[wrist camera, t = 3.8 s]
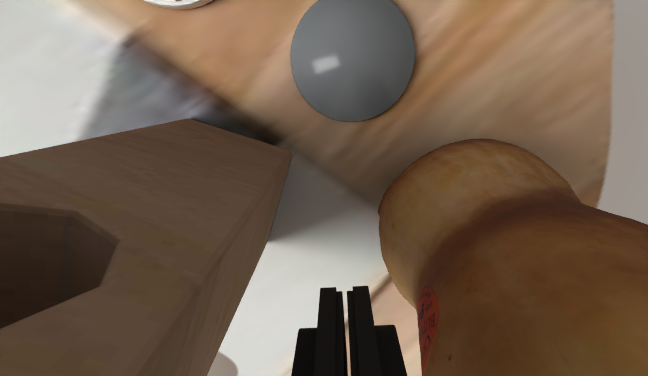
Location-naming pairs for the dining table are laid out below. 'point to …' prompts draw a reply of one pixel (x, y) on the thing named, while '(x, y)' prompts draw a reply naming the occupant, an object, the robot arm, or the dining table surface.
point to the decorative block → (131, 249)
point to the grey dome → (352, 57)
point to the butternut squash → (514, 267)
